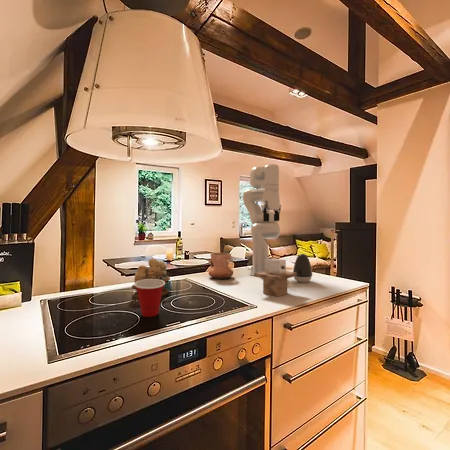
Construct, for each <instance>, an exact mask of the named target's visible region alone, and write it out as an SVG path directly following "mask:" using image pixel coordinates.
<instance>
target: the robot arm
mask: <svg viewBox="0 0 450 450" xmlns="http://www.w3.org/2000/svg"><path fill="white" fill-rule="evenodd" d="M249 185H250V186H251V187H252V188H250V189H245V191H244V192H243V194H242V201H243V205H244V206H245V208H246V210H247V212H248V214H249V219H250V222H251V224H252V226H251V228H250V233H251V240H252V266H249V267H248V269H247V270H249V271H250V272H249V274H250V276H253V277H255V276H254V273H257V272H261V271H265V260H266V259H269V244H268V243H267V241H266V240H265V239H268V240H269V239H278V238H279V237H280V235H281V228H280V224H279V222H280V214H281V209H282V204H281V203H280V193H279V191H280V168H279V165H278V164H275V163H273V164H272V163H270V164H267V165H265V166H254V167H253V168H251V170H250V173H249ZM261 202H262V203H261ZM258 203H261V204H260V205H261V206H260V205H259V204H258Z"/></svg>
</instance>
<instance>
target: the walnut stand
mask: <svg viewBox="0 0 450 450" xmlns="http://www.w3.org/2000/svg"><path fill="white" fill-rule="evenodd" d="M294 276H297V273H296V272H293V271H288V270H286V273H284V274H281V275H278V274H272V273H265V271H261V272H257V273H254V276H253V277H256V278H262V280H263V282H262V286H263V287H262V288H263V291H262V293H263V294H264V295H269V296H274V297H280V296H283V295H286V294H288V279H291V278H294Z"/></svg>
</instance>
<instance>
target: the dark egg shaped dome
mask: <svg viewBox="0 0 450 450" xmlns="http://www.w3.org/2000/svg"><path fill="white" fill-rule="evenodd" d="M292 272H296V273H297V276H294V277H293V279H294V280H295V281H296V282H297V283H300V284H301V283H303V284H306V283H308V282H310V281H311V279H312V277H313V270H312V264H311V262H310V259H309V257H308V256H307V254H305V253H300V254H299V255H297V257H296V259H295V262H294V265H293V269H292Z"/></svg>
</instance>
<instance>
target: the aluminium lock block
mask: <svg viewBox="0 0 450 450" xmlns="http://www.w3.org/2000/svg"><path fill="white" fill-rule="evenodd" d="M286 265H287V261H286V259H280V258H268V259H266V260H265V273H272V274H278V275H281V274H284V273H286V271H287V270H286V269H287V266H286Z"/></svg>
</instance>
